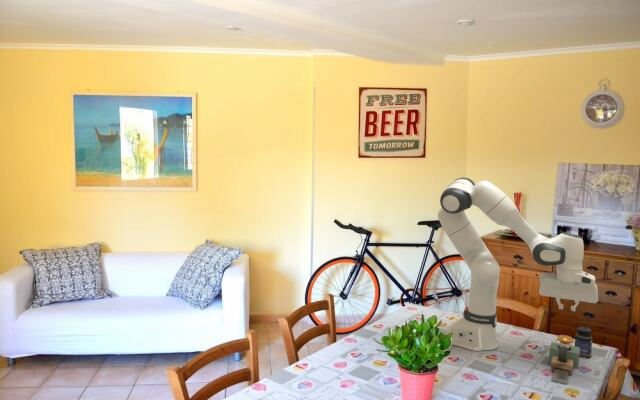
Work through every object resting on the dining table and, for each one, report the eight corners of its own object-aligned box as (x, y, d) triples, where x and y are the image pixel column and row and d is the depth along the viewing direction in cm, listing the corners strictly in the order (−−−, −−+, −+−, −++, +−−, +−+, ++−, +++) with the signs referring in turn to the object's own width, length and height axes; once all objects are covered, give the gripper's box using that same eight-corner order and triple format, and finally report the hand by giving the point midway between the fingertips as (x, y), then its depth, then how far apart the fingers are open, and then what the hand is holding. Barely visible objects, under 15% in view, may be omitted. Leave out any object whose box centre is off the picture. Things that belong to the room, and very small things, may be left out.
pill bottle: (593, 359, 191) (595, 332, 190) (576, 357, 193) (578, 331, 191) (588, 352, 197) (589, 326, 196) (572, 351, 199) (573, 325, 197)
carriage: (550, 370, 181) (552, 348, 180) (552, 364, 186) (553, 343, 185) (571, 374, 177) (573, 352, 176) (572, 368, 182) (574, 347, 181)
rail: (551, 381, 173) (551, 377, 173) (555, 365, 186) (555, 361, 185) (566, 384, 170) (567, 380, 170) (570, 368, 183) (570, 364, 183)
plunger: (555, 353, 187) (556, 338, 186) (557, 348, 192) (557, 334, 191) (571, 356, 184) (572, 341, 183) (572, 351, 189) (573, 336, 188)
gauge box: (548, 362, 188) (549, 348, 187) (550, 356, 194) (551, 341, 193) (577, 368, 183) (578, 353, 182) (578, 362, 189) (579, 347, 188)
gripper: (538, 273, 187) (536, 307, 189) (599, 280, 177) (596, 317, 178) (540, 269, 193) (538, 303, 194) (599, 277, 182) (597, 312, 184)
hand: (566, 310), depth 186 cm, fingers open, 3 cm apart
